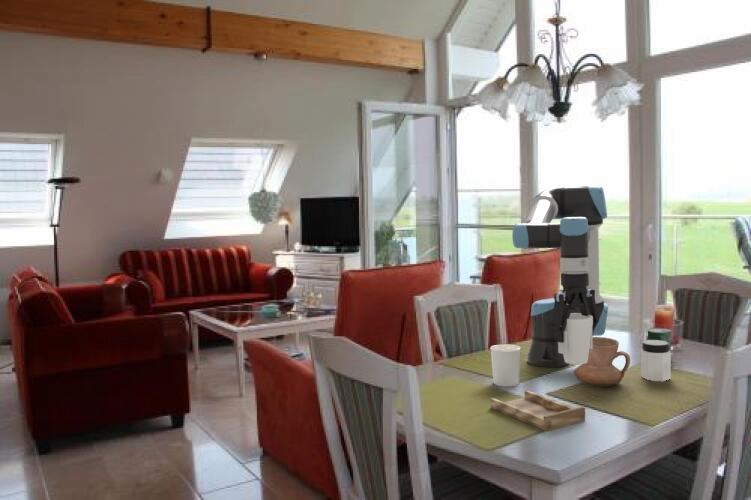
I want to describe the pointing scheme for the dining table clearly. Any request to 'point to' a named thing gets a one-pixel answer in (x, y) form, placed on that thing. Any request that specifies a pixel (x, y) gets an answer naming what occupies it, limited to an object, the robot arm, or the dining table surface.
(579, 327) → the foam cup
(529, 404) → the track
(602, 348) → the ceramic jug
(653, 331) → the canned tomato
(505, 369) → the candle holder
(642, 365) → the jar
